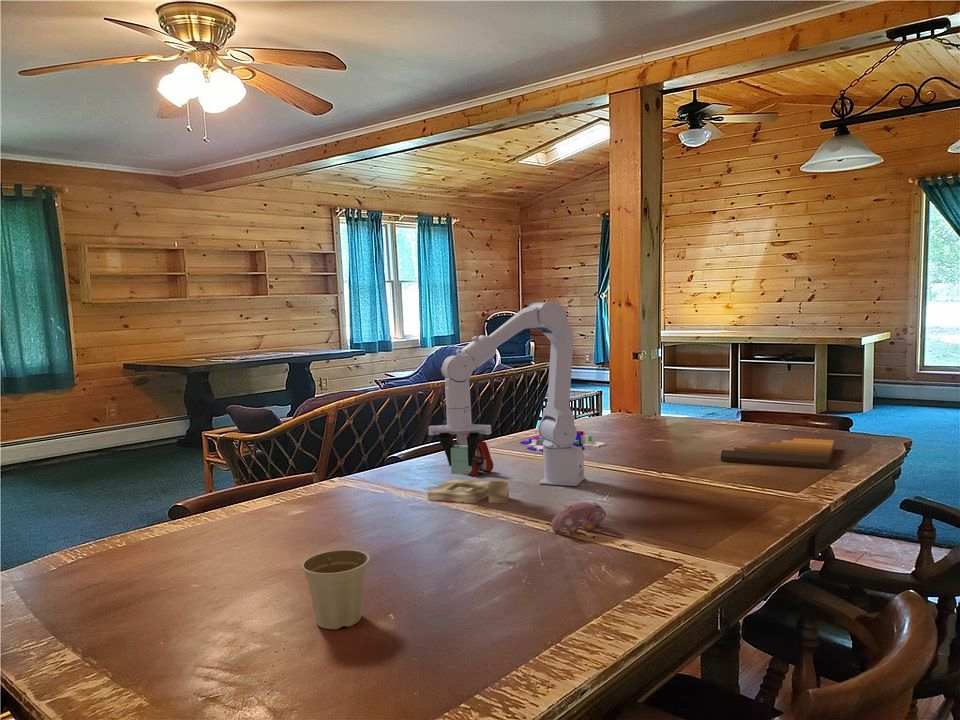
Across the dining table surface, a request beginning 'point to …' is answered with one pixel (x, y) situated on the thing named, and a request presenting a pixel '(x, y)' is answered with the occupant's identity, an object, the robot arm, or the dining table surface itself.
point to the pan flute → (785, 453)
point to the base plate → (460, 491)
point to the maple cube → (498, 491)
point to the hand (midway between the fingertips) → (461, 465)
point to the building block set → (580, 439)
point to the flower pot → (337, 586)
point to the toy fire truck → (478, 455)
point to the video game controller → (578, 517)
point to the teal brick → (460, 460)
